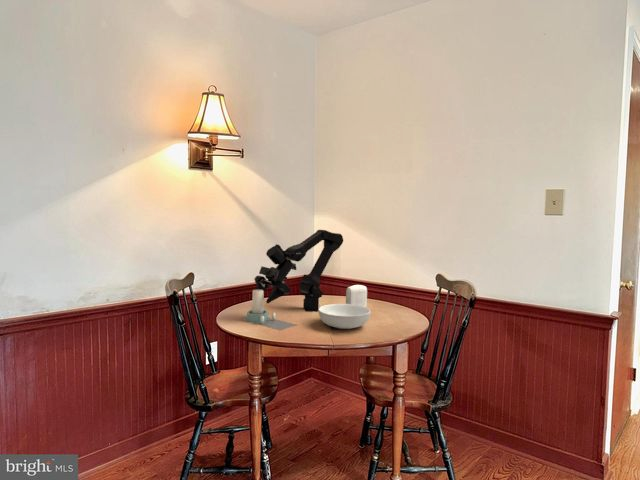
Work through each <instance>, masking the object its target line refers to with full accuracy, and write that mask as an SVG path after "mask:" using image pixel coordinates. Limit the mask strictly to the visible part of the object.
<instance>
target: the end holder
mask: <svg viewBox="0 0 640 480" xmlns="http://www.w3.org/2000/svg"><path fill="white" fill-rule="evenodd" d="M261 316H264V321H267V320H268V317H269V311H268V310H265V309H263V314H252V309H250V310H248V311H246V317H247V320H248V321H250V322H249V323H251V322H261Z"/></svg>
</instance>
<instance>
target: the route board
mask: <svg viewBox="0 0 640 480" xmlns="http://www.w3.org/2000/svg"><path fill="white" fill-rule="evenodd" d="M239 320H240V321H244V322H247V323H252V324H255V325H259V326H262V327H265V328H271V329H273V330H277V331H284V330H286V329H289V328H292V327H296V326H297V323H296V324H295V323H292V322H287V321H285V320H280V319H278V318H277V319H276V312H271V317H269V316H268V320H267V321H264V316H261V322H250V321H248V320H247V316H246V317H242V318H240V319H239Z"/></svg>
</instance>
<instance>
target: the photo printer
mask: <svg viewBox="0 0 640 480" xmlns="http://www.w3.org/2000/svg"><path fill="white" fill-rule="evenodd" d="M367 298H368V288H367V286H365V285H362V284H354V285H351V286H348V287H347V288H346V290H345V304H351V305H358V306H363V307H366V308H367V307H368V306H367V303H368V299H367Z"/></svg>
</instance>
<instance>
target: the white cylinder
mask: <svg viewBox="0 0 640 480" xmlns="http://www.w3.org/2000/svg"><path fill="white" fill-rule="evenodd" d="M264 294H265V292H264V290H260V289H257V290H256V289H253V290H252V303H251V304H252V308H251V310H252V314H263V310H264V298H265V297H264V296H265V295H264Z"/></svg>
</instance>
